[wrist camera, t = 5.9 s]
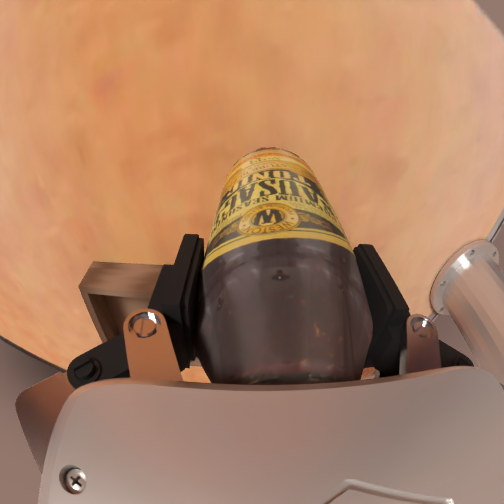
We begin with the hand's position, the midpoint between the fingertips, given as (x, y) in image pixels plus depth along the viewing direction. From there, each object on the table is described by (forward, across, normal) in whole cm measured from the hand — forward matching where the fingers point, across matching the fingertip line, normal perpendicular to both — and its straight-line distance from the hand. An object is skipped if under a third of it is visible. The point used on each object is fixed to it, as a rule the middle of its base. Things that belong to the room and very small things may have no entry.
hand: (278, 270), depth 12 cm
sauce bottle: (+10, 0, 0) cm, 10 cm away
